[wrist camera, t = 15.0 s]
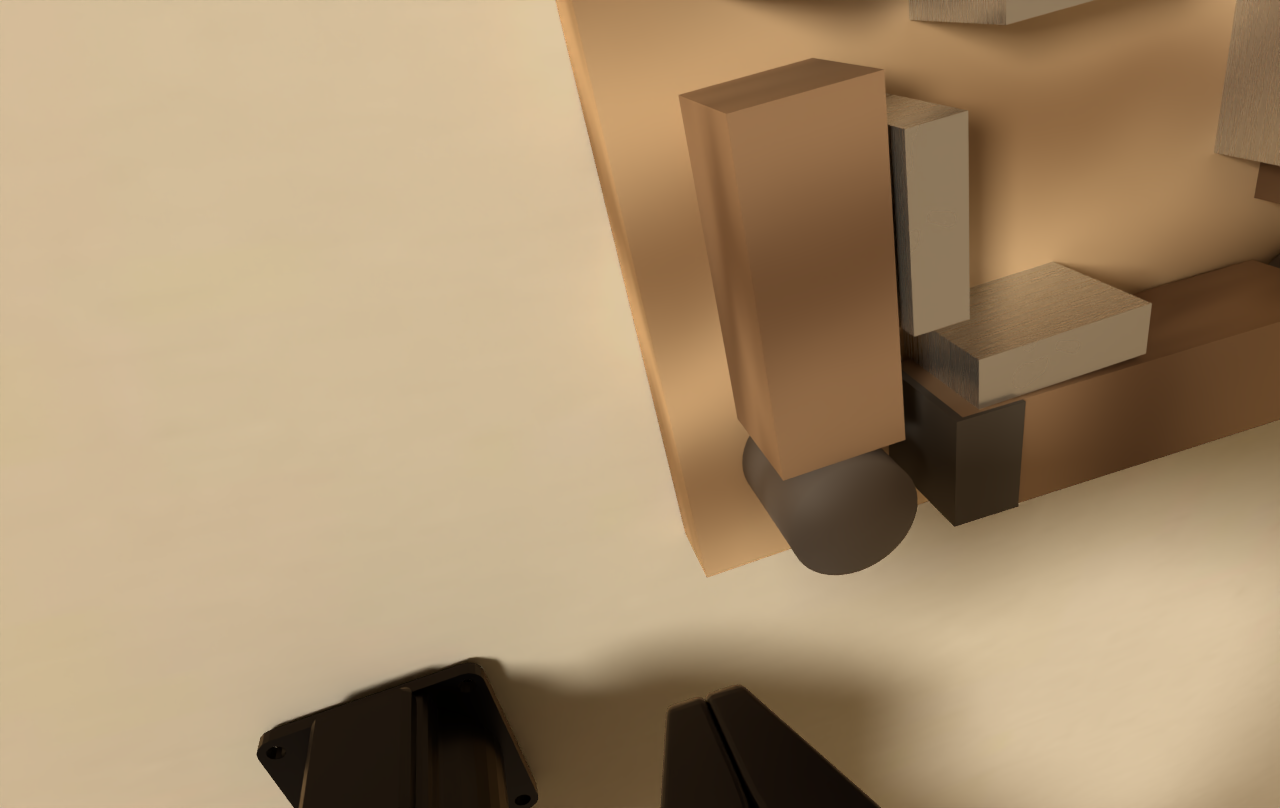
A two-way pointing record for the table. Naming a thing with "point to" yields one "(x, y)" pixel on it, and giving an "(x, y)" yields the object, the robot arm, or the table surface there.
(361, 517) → the table surface
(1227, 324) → the leg
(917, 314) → the brackets
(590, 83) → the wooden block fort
